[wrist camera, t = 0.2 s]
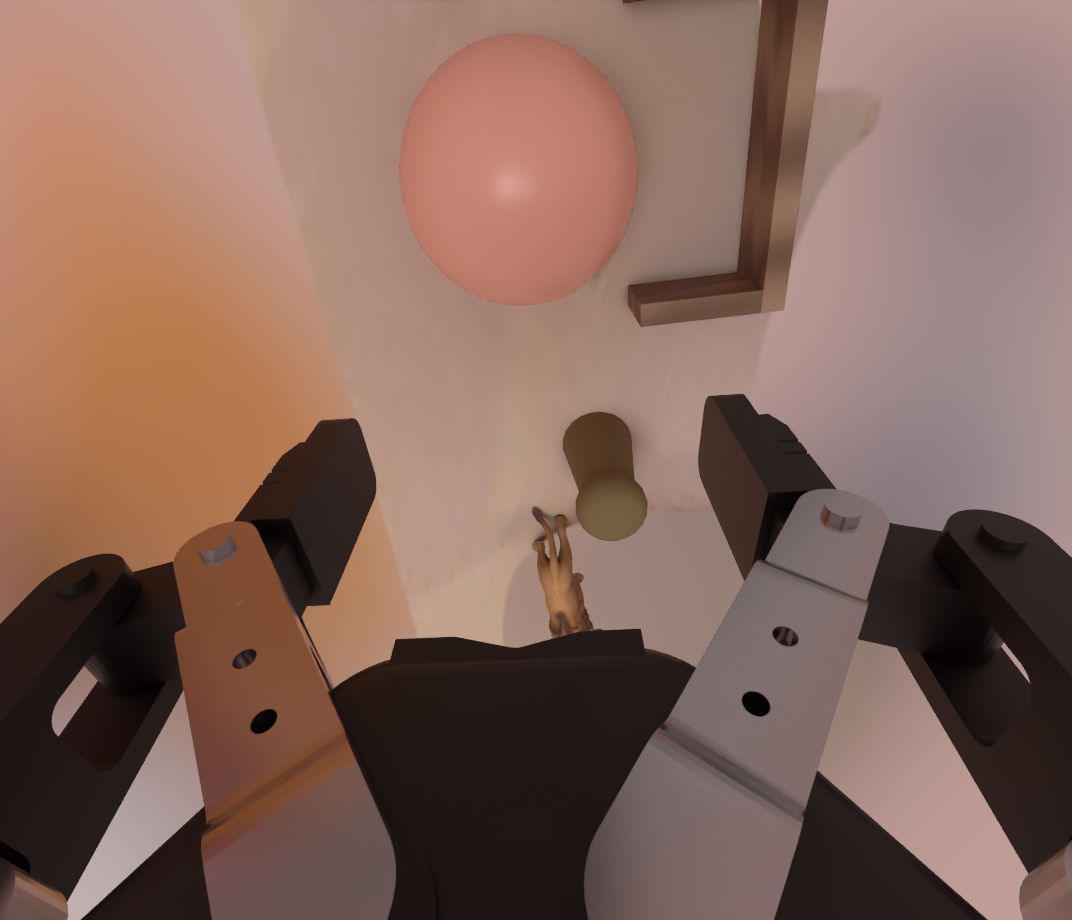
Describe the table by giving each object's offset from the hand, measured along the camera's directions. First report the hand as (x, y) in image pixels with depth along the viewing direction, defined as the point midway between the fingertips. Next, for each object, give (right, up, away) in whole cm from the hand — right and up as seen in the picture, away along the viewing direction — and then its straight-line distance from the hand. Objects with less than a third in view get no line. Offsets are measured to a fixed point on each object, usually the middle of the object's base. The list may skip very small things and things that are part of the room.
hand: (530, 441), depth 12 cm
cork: (+5, +1, +34) cm, 34 cm away
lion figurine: (+3, -11, +41) cm, 43 cm away
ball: (-1, +15, +17) cm, 22 cm away
